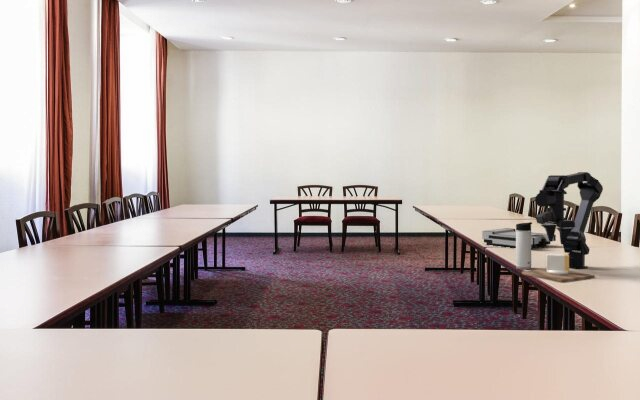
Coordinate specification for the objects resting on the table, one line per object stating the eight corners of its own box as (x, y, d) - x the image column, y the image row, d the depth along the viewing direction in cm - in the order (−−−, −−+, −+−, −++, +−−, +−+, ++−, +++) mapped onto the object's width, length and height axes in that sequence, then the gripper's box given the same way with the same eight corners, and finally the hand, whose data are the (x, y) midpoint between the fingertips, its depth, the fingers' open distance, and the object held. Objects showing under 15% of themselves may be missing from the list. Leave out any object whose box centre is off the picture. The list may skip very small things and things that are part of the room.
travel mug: (533, 269, 240) (533, 223, 239) (517, 269, 241) (517, 223, 240) (530, 267, 246) (530, 221, 245) (515, 267, 248) (514, 221, 246)
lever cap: (546, 270, 231) (546, 252, 231) (567, 271, 229) (567, 253, 228) (547, 274, 224) (547, 255, 223) (569, 275, 221) (569, 256, 221)
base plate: (554, 269, 239) (554, 267, 239) (594, 277, 221) (594, 274, 221) (521, 274, 231) (521, 271, 231) (561, 282, 213) (561, 279, 213)
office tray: (532, 251, 292) (532, 235, 291) (482, 245, 318) (482, 230, 318) (555, 247, 304) (555, 232, 303) (505, 242, 330) (505, 228, 330)
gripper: (527, 204, 242) (527, 240, 243) (549, 207, 224) (549, 246, 225) (551, 203, 243) (551, 239, 244) (576, 206, 225) (576, 245, 226)
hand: (556, 242), depth 235 cm, fingers open, 9 cm apart
